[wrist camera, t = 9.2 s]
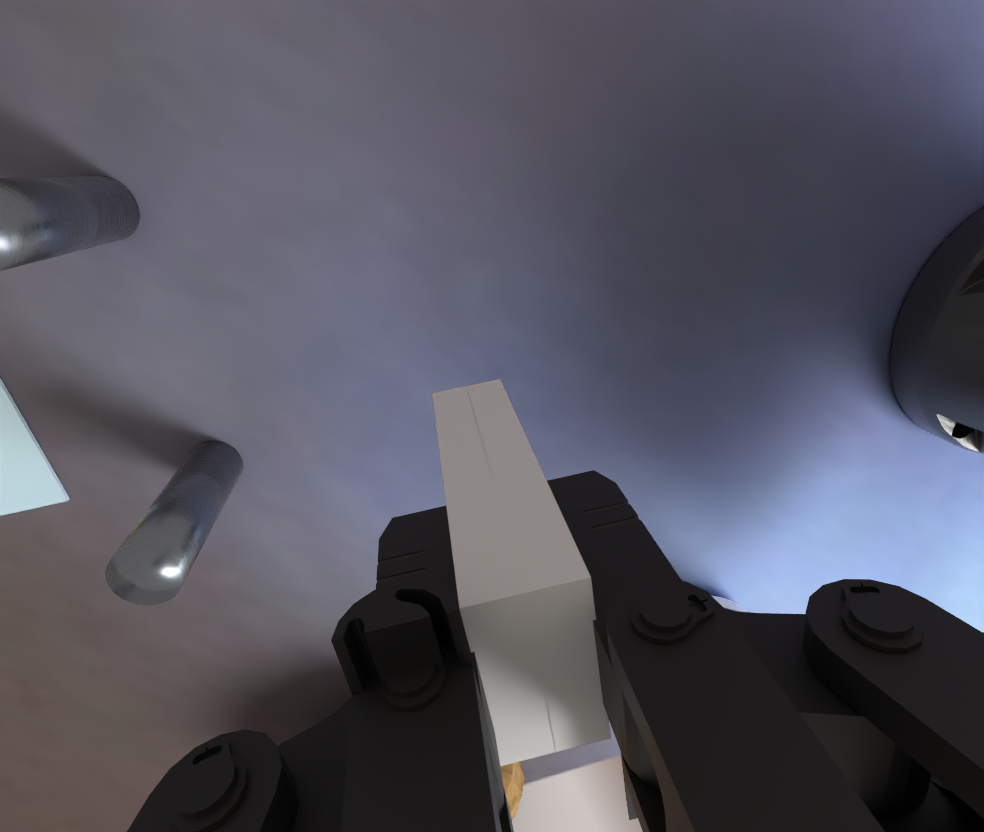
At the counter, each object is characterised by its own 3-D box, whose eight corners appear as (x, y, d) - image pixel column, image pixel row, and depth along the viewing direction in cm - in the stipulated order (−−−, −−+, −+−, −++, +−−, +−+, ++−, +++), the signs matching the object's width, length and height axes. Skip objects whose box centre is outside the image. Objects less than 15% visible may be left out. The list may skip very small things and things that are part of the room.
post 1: (123, 170, 24) (-24, 171, 16) (149, 234, 25) (24, 267, 17) (59, 181, 24) (-123, 189, 15) (89, 245, 25) (-67, 284, 16)
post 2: (232, 436, 29) (165, 541, 21) (250, 479, 30) (192, 596, 22) (180, 447, 29) (92, 557, 21) (200, 490, 30) (123, 611, 22)
